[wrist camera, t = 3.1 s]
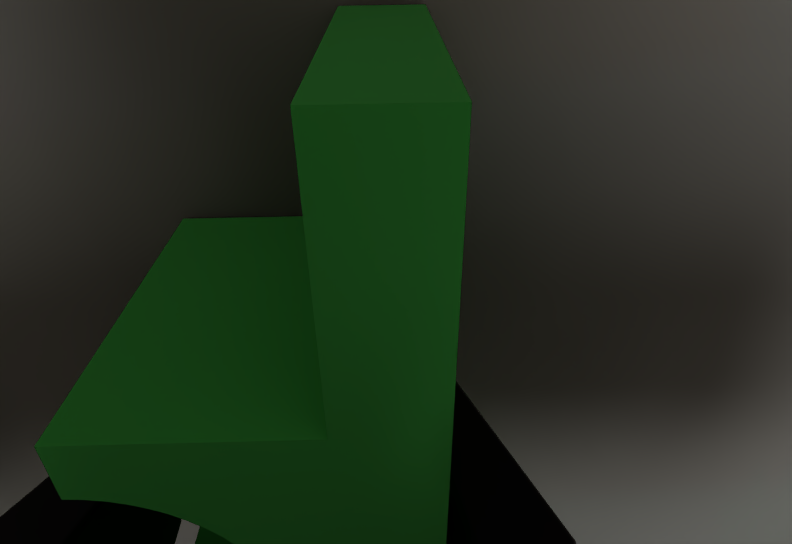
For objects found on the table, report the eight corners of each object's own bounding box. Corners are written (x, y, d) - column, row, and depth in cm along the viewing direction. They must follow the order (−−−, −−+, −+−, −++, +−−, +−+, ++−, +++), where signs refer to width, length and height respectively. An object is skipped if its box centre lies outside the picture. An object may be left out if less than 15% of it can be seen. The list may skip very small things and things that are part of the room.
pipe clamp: (135, 8, 7) (-146, 105, 3) (425, 2, 7) (476, 92, 3) (257, 536, 13) (205, 795, 9) (418, 531, 13) (434, 786, 9)
